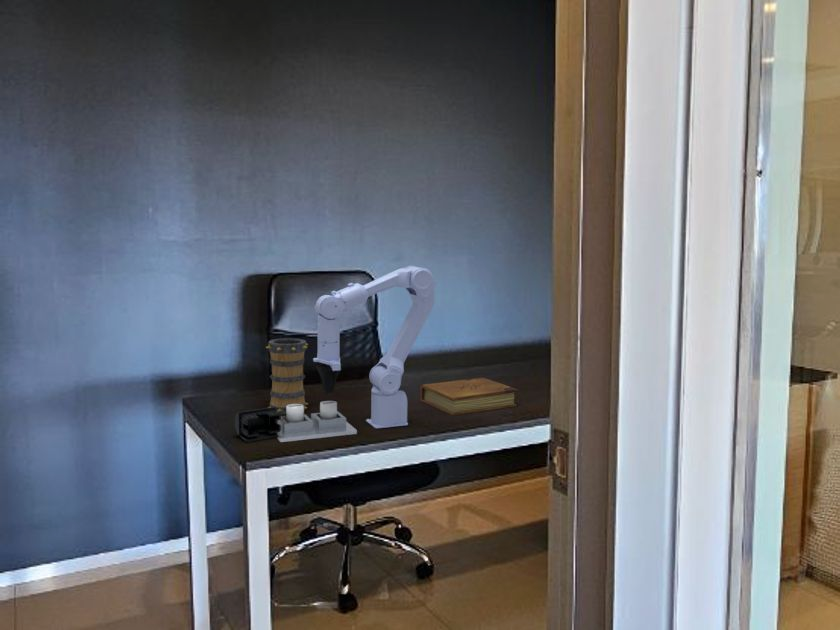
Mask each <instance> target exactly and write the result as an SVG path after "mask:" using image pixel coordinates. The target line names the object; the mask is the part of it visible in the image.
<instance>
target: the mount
mask: <svg viewBox="0 0 840 630" xmlns="http://www.w3.org/2000/svg"><path fill="white" fill-rule="evenodd" d="M276 422H277V423H278V424H280V425H281V431H280V432H277V433H275V434H276V435H277V437H276V438H277V440H278V441H279V442H280V443H284V442H285V443H286V442H296V441H303V440H312V439H322V438H332V437H340V436H351V435H357V434H358V431H357V429H356V428H355V427H354V426H353V425H352V424H350V423H349V422H348V421H347V417H345V416H344V415H343V414H342V413H341V412H340V411H339V410H337V418H332V419H320V412H315V413H310V417H309V416H308V415H307V414H305V413H304V421H302V422H292V423H287V420H286V415H283V416H282V415H281V420H278V419H277V421H276Z"/></svg>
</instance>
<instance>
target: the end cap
mask: <svg viewBox="0 0 840 630" xmlns="http://www.w3.org/2000/svg"><path fill="white" fill-rule="evenodd" d="M269 407H270V406H269ZM281 416H282V414H279V413H277V412H276V407H270V408H268V407H263V408H258V409H257V408H256V409H251V410H244V411H237V412H236V414H235V416H234V429H235V431H236V433H237V434H238V437H240V438H241V439H242V440H243V441H245V442H246V443H251V442H259V441H263V440H269V439H274V438H277V435H276V434H275V433H277V432H280V431H281V425H280V424H278V423H277V422H278V420H281Z"/></svg>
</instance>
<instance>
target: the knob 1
mask: <svg viewBox="0 0 840 630" xmlns="http://www.w3.org/2000/svg"><path fill="white" fill-rule="evenodd" d="M304 414H305V411H304V405H302V404H290V405H287V406H286V414H285V416H286V420H287V423H292V422H302V421H304Z"/></svg>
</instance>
